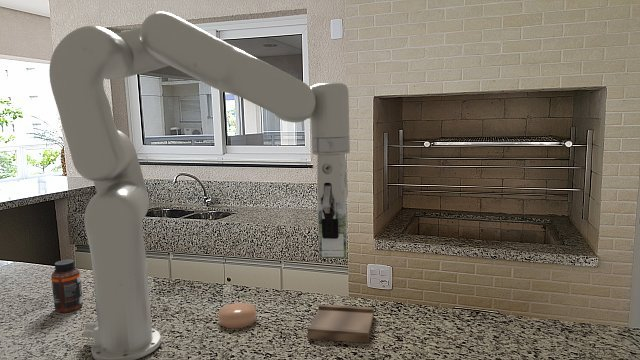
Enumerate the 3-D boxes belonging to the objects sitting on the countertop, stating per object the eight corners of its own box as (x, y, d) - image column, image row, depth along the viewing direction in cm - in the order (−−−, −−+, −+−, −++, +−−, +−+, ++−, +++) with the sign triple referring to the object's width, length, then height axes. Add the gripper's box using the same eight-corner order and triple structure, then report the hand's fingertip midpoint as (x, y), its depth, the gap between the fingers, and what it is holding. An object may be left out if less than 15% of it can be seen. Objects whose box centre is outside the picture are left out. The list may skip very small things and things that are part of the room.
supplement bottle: (89, 304, 115) (84, 259, 113) (67, 315, 110) (62, 267, 108) (70, 301, 117) (65, 256, 116) (48, 311, 112) (43, 264, 110)
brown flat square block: (307, 338, 96) (307, 328, 96) (319, 313, 107) (319, 304, 107) (368, 343, 93) (367, 333, 93) (373, 316, 105) (373, 307, 105)
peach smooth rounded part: (212, 327, 102) (211, 316, 102) (229, 312, 110) (228, 301, 110) (247, 330, 100) (246, 319, 100) (261, 314, 108) (261, 304, 108)
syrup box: (347, 250, 102) (346, 182, 100) (347, 259, 96) (345, 187, 94) (320, 250, 103) (318, 183, 100) (318, 259, 97) (316, 188, 95)
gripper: (343, 149, 87) (345, 246, 90) (354, 142, 104) (355, 223, 107) (303, 150, 88) (306, 245, 91) (319, 142, 105) (322, 223, 108)
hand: (333, 232), depth 99 cm, fingers closed on syrup box, 6 cm apart
